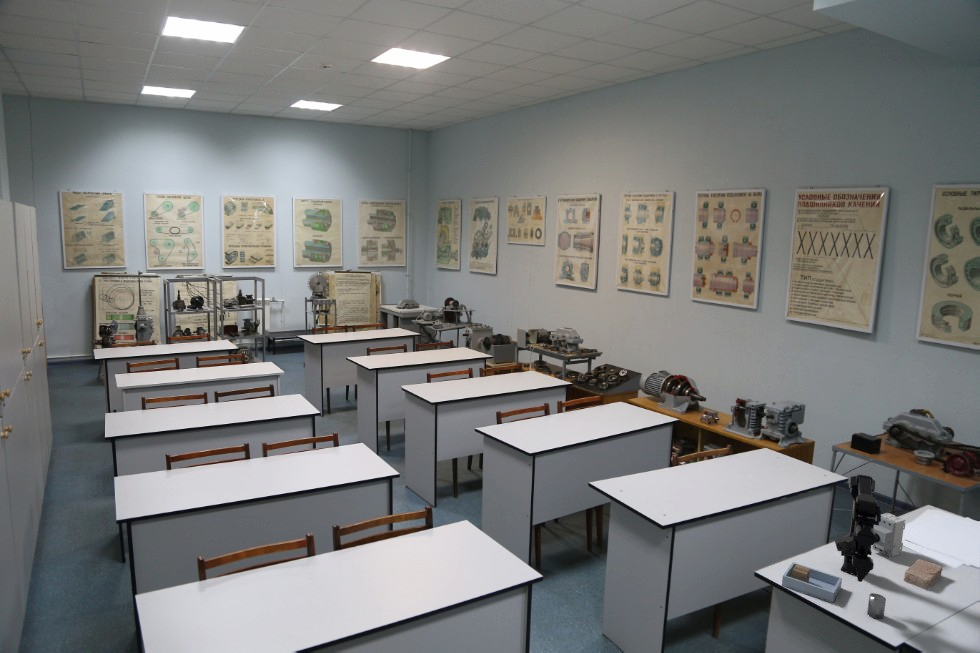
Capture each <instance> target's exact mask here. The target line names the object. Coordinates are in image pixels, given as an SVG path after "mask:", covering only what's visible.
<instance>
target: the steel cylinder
mask: <svg viewBox="0 0 980 653" xmlns="http://www.w3.org/2000/svg"><path fill="white" fill-rule="evenodd" d="M868 596H869V597H868V604H867V611H866V614H867V616H868V615H869V617H870V618H871V619H873V620H879V621H882V620H884V619H885V618H884V617H885V611H886V610H885V609H886V604H887V603H886V602H887V599H886V597H885V596H884V595H881V594H879V593H875V592H874V593H873V592H871V593H870V594H869V595H868Z"/></svg>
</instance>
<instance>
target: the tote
mask: <svg viewBox="0 0 980 653" xmlns="http://www.w3.org/2000/svg"><path fill="white" fill-rule="evenodd" d="M796 565H799V566H802V567H805V568H808V569H810V576H809V582H808V583H806V582H803V581H800V580H797V579H794V578H792V572H793V569H794V567H795V566H796ZM781 578H782V580H781V586H782V587H785V588H788V589H790V590H794V591H797V592H799V593H802V594H806V595H808V596H811V597H814V598H817V599H820V600H822V599H823V600H822V601H825V602H828V603H830V604H831V603H832V604H834V602H835V600H836V598H837V596H838V595H839V593H840V590H841V589H842V582H843V578H842V577H840V576H837V575H833V574H832V573H827V572H824V571H821V570H818V569H815V568H812V567H808V566H806V565H803V564H800V563H797V562H791V564H790V565H789V566H788V568H787V569H786V571H784V573H783V574H782V577H781ZM837 594H838V595H837Z"/></svg>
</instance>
